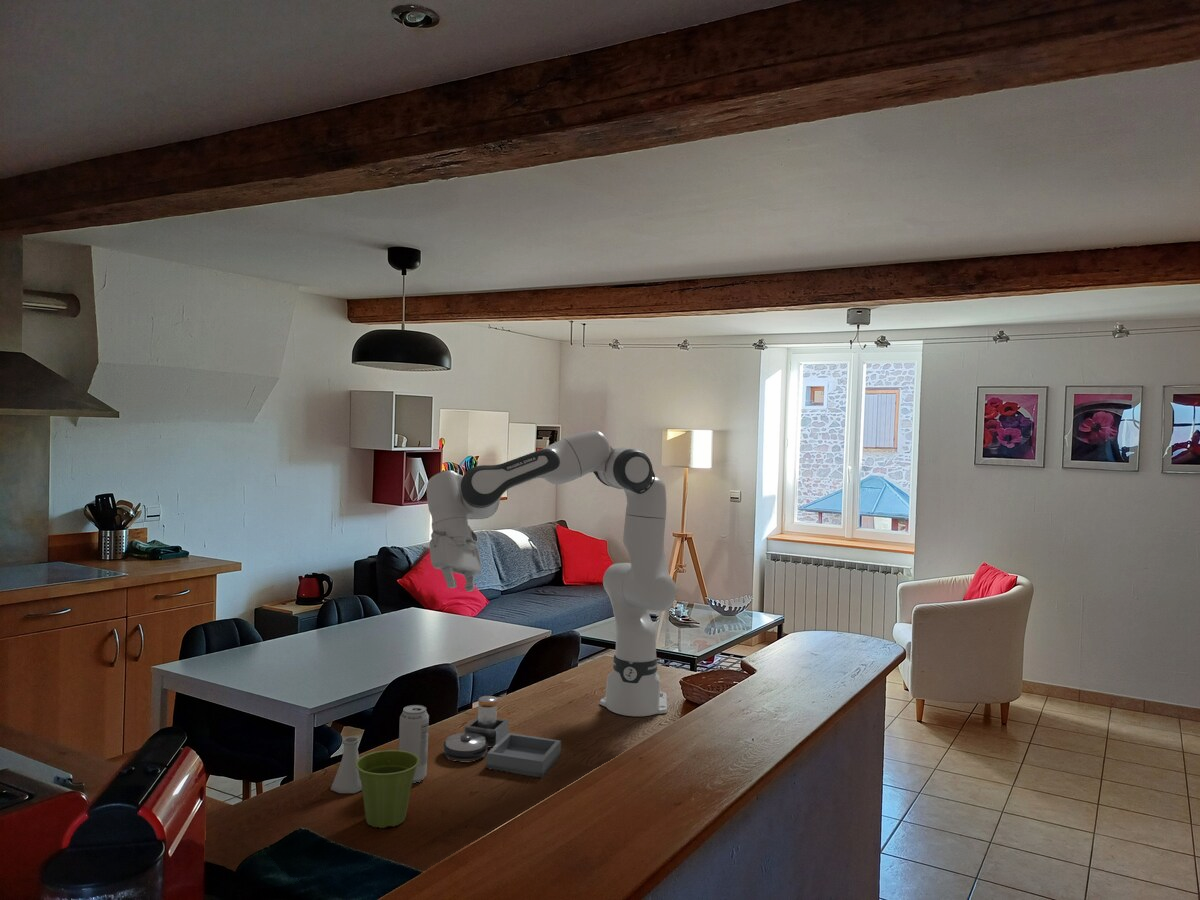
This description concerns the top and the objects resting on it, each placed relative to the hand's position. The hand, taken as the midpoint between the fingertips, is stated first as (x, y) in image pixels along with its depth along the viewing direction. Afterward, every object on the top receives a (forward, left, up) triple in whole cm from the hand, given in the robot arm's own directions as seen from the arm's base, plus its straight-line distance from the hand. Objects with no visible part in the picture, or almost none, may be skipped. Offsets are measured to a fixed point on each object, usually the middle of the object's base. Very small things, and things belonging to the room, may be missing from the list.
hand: (461, 589), depth 200 cm
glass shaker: (0, +8, -36) cm, 37 cm away
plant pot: (+44, +6, -36) cm, 57 cm away
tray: (+9, +21, -36) cm, 42 cm away
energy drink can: (+26, +2, -36) cm, 44 cm away
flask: (+34, -8, -36) cm, 50 cm away
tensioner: (+5, +7, -36) cm, 37 cm away
